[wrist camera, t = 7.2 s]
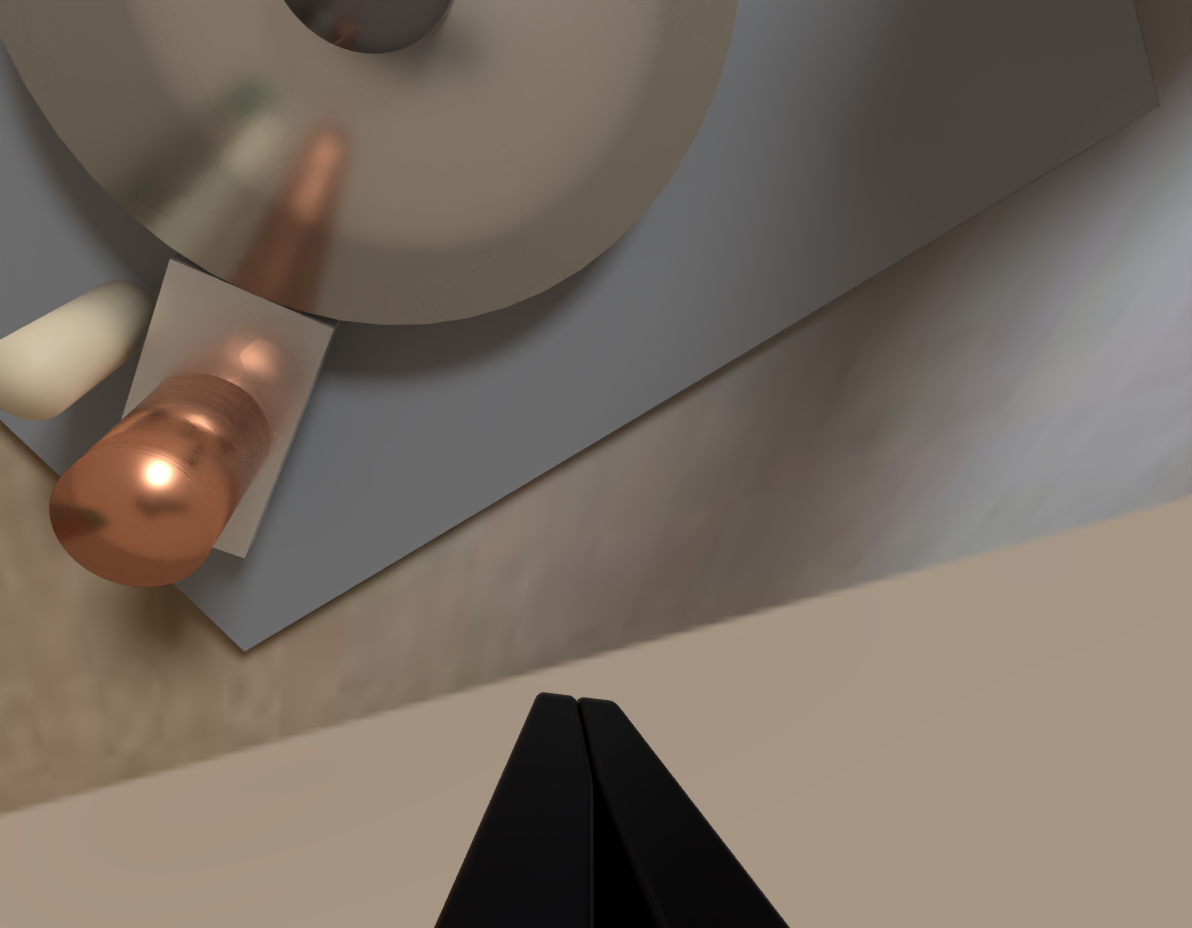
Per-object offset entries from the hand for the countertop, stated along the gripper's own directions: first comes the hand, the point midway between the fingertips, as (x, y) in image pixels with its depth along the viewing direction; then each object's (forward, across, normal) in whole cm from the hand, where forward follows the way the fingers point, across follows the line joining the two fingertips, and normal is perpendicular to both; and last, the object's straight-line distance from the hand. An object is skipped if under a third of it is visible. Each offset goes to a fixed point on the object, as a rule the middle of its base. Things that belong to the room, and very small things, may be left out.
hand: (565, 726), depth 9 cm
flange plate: (+10, +5, -4) cm, 12 cm away
